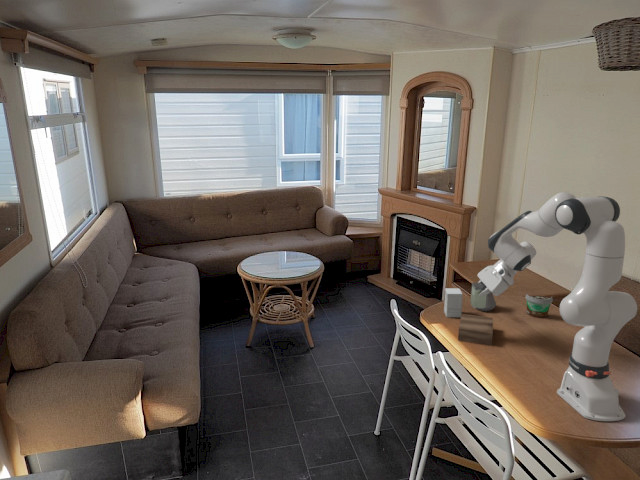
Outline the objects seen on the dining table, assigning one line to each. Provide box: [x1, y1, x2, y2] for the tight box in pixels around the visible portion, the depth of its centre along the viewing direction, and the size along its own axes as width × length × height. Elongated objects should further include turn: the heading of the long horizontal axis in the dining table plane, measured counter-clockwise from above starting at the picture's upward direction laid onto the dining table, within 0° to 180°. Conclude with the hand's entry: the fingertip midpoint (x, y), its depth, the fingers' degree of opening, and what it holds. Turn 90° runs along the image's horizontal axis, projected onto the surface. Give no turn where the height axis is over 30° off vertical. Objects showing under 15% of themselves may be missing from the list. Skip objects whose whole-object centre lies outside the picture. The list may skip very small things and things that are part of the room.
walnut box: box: [457, 313, 494, 346], centre depth 211 cm, size 16×14×6 cm
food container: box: [524, 294, 554, 319], centre depth 227 cm, size 12×6×10 cm, turn 73°
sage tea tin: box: [470, 282, 487, 309], centre depth 206 cm, size 5×5×10 cm
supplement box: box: [443, 287, 464, 318], centre depth 230 cm, size 7×7×13 cm
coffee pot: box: [476, 292, 500, 312], centre depth 231 cm, size 21×12×15 cm, turn 2°
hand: (477, 292), depth 206 cm, fingers closed on sage tea tin, 5 cm apart
